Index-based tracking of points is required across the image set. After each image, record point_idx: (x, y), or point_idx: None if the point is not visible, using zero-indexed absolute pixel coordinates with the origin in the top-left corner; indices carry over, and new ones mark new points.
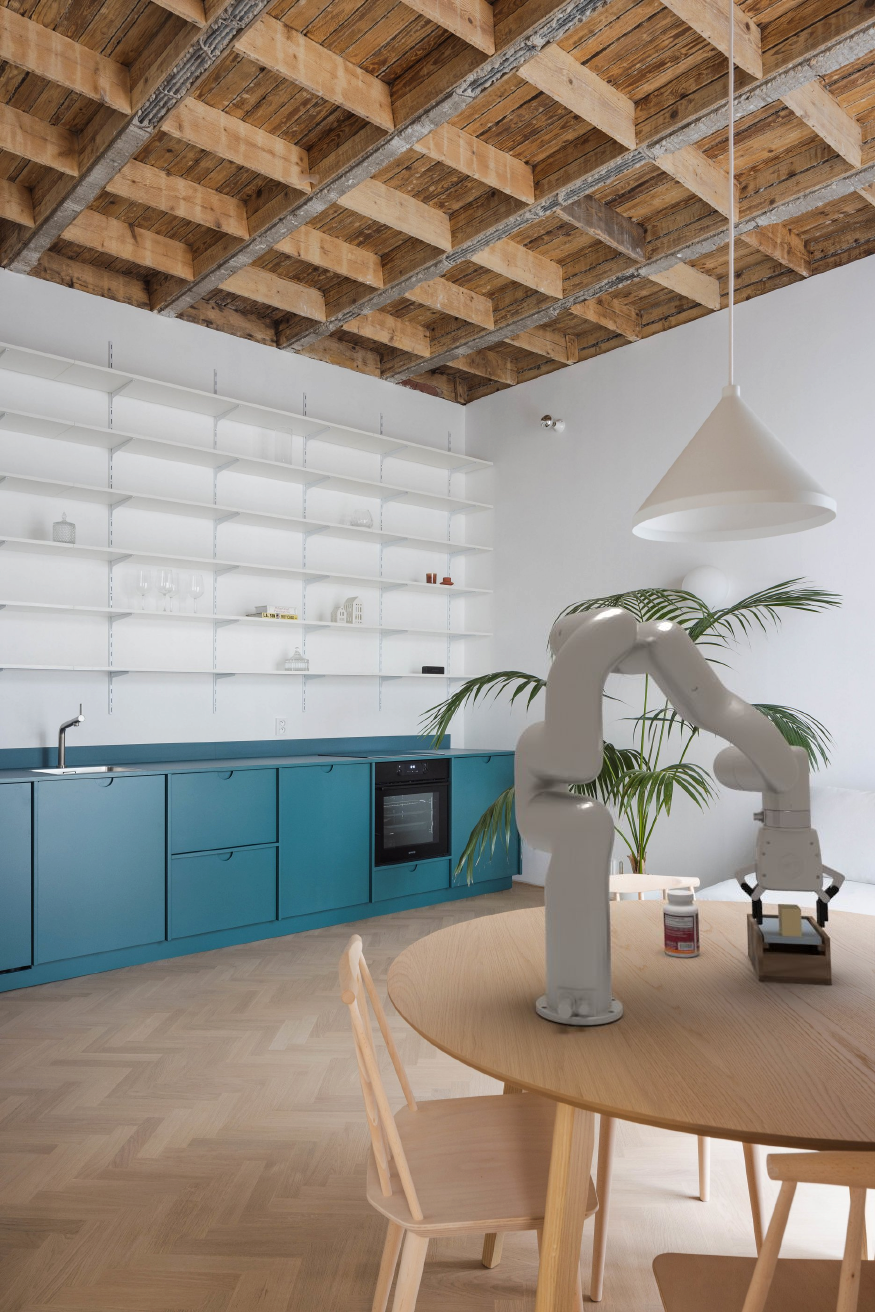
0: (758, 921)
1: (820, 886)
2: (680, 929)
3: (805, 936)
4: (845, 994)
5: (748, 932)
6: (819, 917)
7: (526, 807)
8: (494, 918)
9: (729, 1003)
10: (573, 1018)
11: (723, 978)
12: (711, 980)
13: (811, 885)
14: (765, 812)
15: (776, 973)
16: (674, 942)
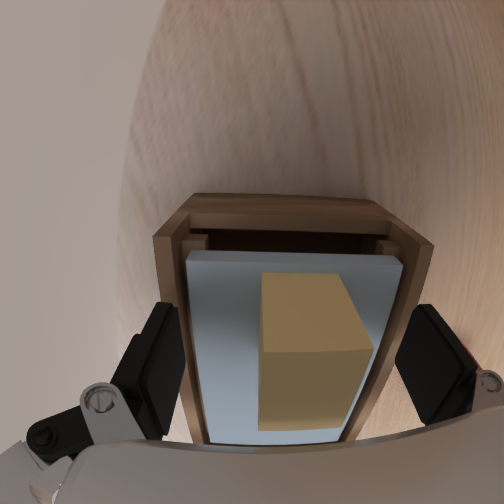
0: (435, 309)
1: (83, 459)
2: (476, 371)
3: (245, 284)
4: (174, 121)
5: None
6: (168, 338)
7: None
8: None
9: (448, 42)
10: None
11: (437, 218)
12: (460, 200)
13: (157, 485)
14: None
15: (338, 202)
16: (471, 355)
